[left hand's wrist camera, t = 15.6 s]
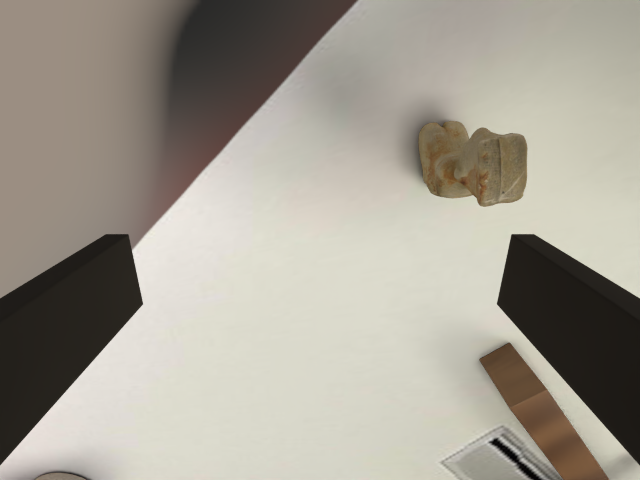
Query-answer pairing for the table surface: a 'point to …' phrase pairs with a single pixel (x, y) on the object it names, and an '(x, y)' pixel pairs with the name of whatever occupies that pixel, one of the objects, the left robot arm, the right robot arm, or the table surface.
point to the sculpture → (473, 163)
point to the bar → (541, 415)
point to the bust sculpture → (59, 477)
